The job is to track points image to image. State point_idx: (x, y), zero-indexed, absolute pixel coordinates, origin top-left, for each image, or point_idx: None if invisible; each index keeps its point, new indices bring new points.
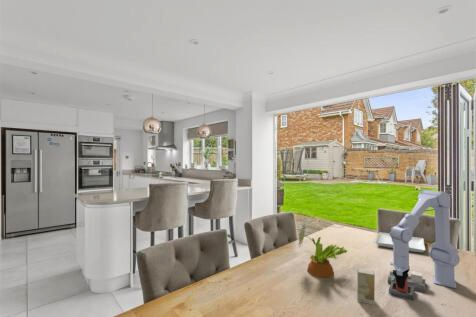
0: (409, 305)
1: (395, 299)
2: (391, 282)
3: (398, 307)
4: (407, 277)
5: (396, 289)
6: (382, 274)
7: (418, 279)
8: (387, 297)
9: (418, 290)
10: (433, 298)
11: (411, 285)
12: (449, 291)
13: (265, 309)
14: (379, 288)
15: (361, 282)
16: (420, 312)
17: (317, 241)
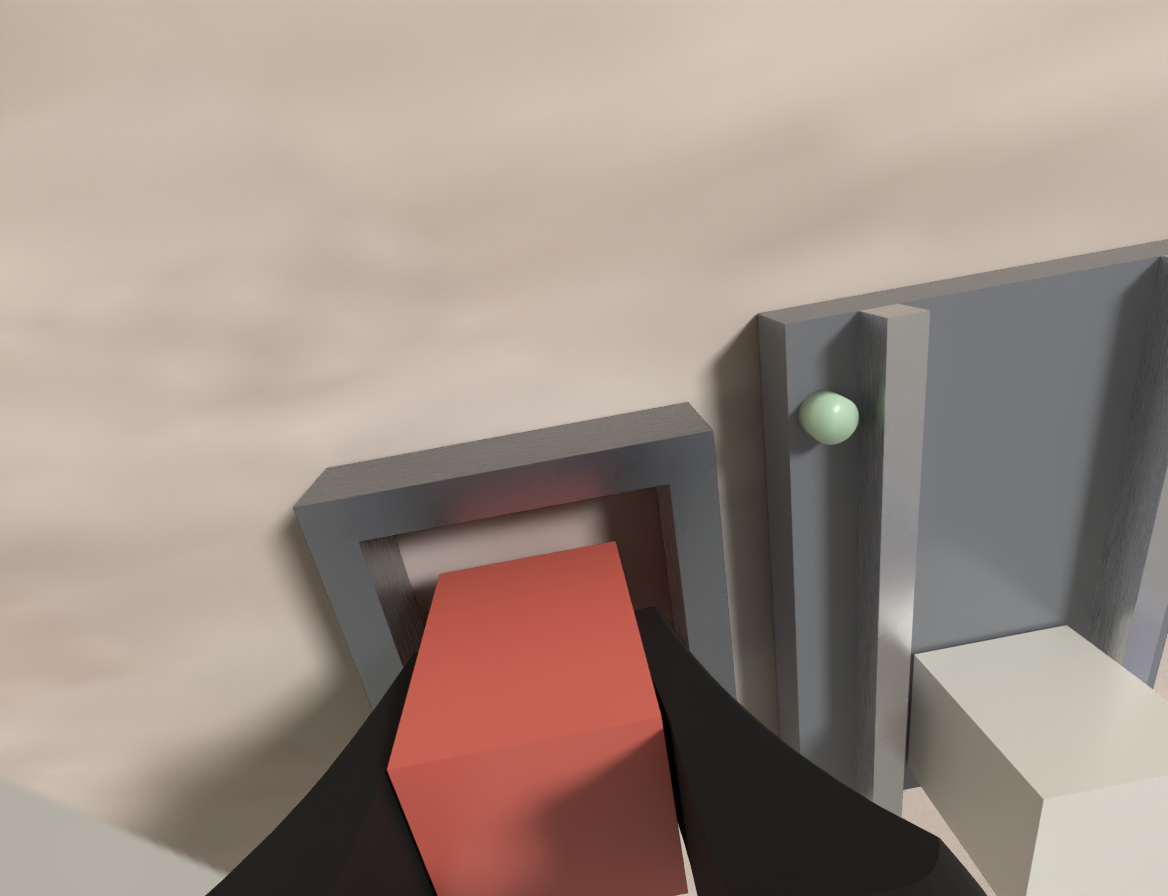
0: (235, 750)
1: (225, 594)
2: (652, 449)
3: (24, 687)
4: (685, 888)
5: (441, 584)
6: (1155, 78)
7: (967, 812)
8: (166, 494)
9: (781, 715)
10: (681, 847)
11: (808, 679)
12: (990, 888)
13: None
14: (386, 272)
15: None
16: (184, 856)
17: None
